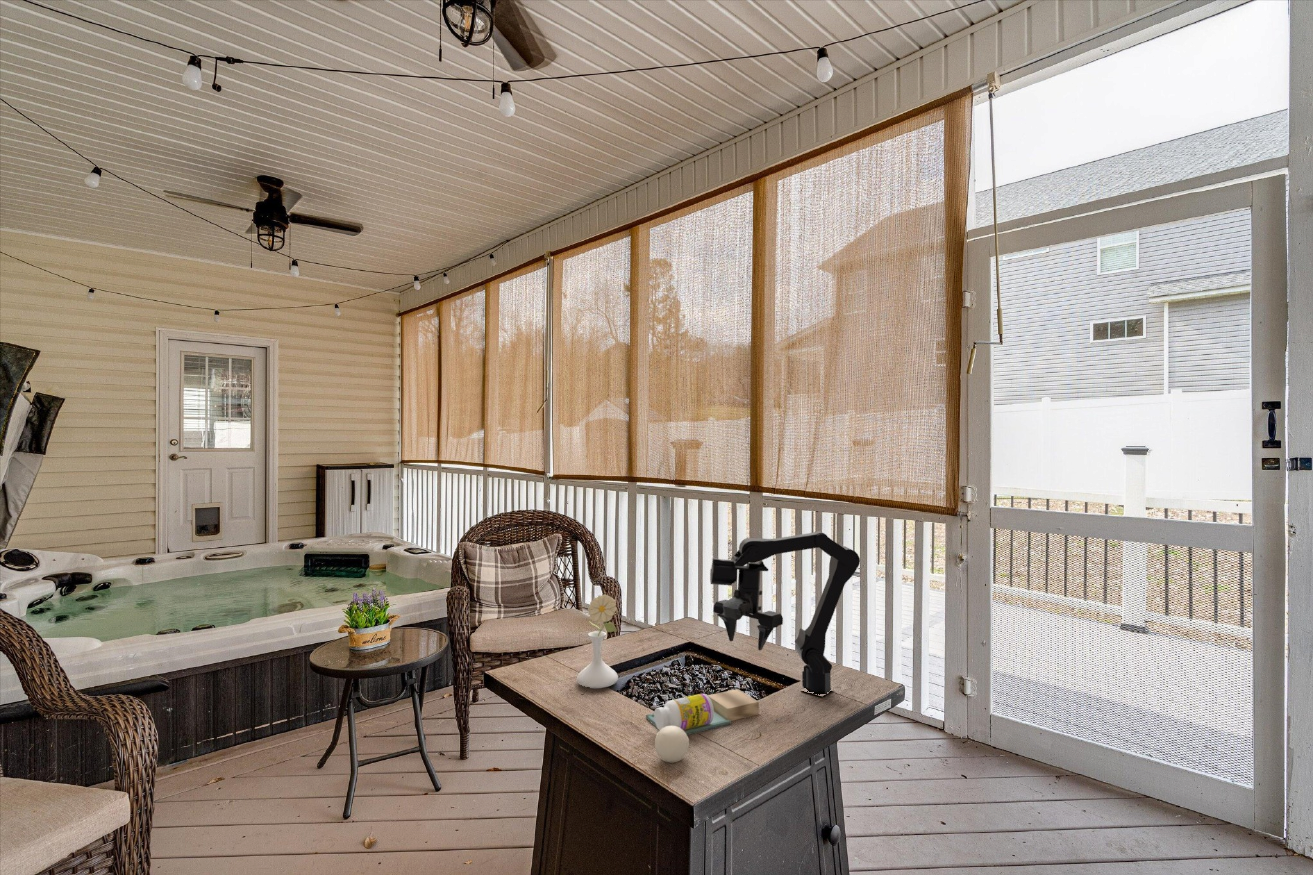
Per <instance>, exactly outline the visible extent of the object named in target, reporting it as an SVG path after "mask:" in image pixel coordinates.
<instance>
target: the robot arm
mask: <svg viewBox="0 0 1313 875" xmlns="http://www.w3.org/2000/svg"><path fill="white" fill-rule="evenodd" d="M817 548H818V549H820V550H821V551H823V552H824V553H826V554H827V555H828V556H830V558H829V562H828V563H829V564H828V578H827V580H826V582H825V585H824V588H823V591H822V592H821V596H820V598H819V600H818V603H817V606H816V609H815V611H814V614H813V616H812V618H811V622H810V624H809V626H808V627H806V629H803V628H800V629H799V630H798V636H797V637H796V639H795V640H794V643H795V650H796V653H797V654H798V656H799V657H800V658H801V659H800V660H801V661H802V662H803V663H804V664H805V665H803V671H801V677H802V679H801V680H802V684H801V686H802V688H806V689H807V690H808V691H809V692H814V693H813V694H817V695H818V694H819V695H820V694H827V692H829V691H830V690H831V688H832V686H831V685H832V684H831V683H832V682H831V679H832V677H831V674H832V672H831V671H832V669H833V668H832V667H833V665H832V663H831V662H830V661H829V659H828V658H827V657H826V656H825V649H826V637H827V636H826V634H827V631H828V628H829V626H830V624H831V621H832V618H833V616H834V613H835V611H836V608H837V605H838V603H839V601H840V597H841V595H842V592H843V589H844V588H845V585H846V584H847V582H848V581H849V580H850V579H852V577H853V576H854V574H855V572H856V571H857V570H858V568H859V566H860V563H861V562H860V561H861V558H860V556H859V554H858V553H857V552H856V551H855V550H853V549H852V548H850V547H847V546H844V545H841V544H839V543H837V542H836V541H834V540H833V539H831V538H830V537H829V536H828V534H826V533H825V532H823V531H819V530H816V531H814V532H810V533H809V532H808V533H801V534H796V535H789V536H783V537H776V538H763V537H761V538H760V537H746V538H744V539H743V540H742V541H741V542H740V543H739V545H738V550H737V551H736V553H734V554H733V556H732V557H731V559H721V558H716V557H715V558H714V557H713V558H712V562H711V566H710V570H709V571H710V572H709V575H710V576H709V577H710V578H709V582H710V585H717V586H718V585H719V586H733V584H735V583H736V582H737V580H738V582H737V588H736V589H734V592H733V596H732V597H731V598H729V599H722V600H717V601H716V602H714V604H713V609H712V610H713V611H712V612H713V613H715V614H716V616H717V617H718V618H720V619H721V620H722V622H723V623H724V626H725V630H726V633H727V637H728V640H729V642H733V641H734V638H735V633H736V626H737V621H738V620H741V619H742V617H747V618H752V619H754V620H757V622H758V625H756V628H757V629H758V643H757V647H758V648H757V649H758V651H762V650H763V648H764V647H765V645H766V642H767V640H768V639H769V636H770V635H771V634H772V632H773V630H774V629H775V628H778V627H779V626H782V625H783V624H784V617H783V615H782V613H780V612H777V611H772V610H768V611H763V612H762V606H761V605H759V604H760V596H762V595H763V590H760V588H761V572H768V571H769V568H768V567H767V566H766V565H765V564H764V561H763V560H767V559H768V558H771V557H773V556H776V555H778V554H780V555H781V554H784V553H785V554H786V553H792V552H798V551H805V550H812V549H817ZM760 611H761V612H760ZM808 691H807V692H808Z"/></svg>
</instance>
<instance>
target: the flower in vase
mask: <svg viewBox="0 0 1313 875" xmlns="http://www.w3.org/2000/svg"><path fill="white" fill-rule="evenodd" d="M589 604H590V605H589V606H588V607H587V611H588V615H589V616H588V617H589V620H588V621H589V623H590V625H592V626H593V627H594V628H597V629H599V631H594V630H593V631H591V632H588V633H587V635H588V637H589V639H590V641H591V644H592V660H591V662H590V663H589V664H588V665H587V666H585V667H584V668H583V669H582V670H581V671H579V673H578V674H577V676H576V682H577V683H578V684H579V685H580V686H581V685H582V686H581V687H584V686H585V687H584V688H587V687H590V688H589V689H602V688H603V689H604V688H607V687H610V686H612V685H615V684H616V683H617V682H618V680H619V676H618V673H617V672H616V670H614V669H613V668H612V667H610V666H609V665H608V664H606V663H605V661H604V660H603V658H602V645H603V643H604V642H603V641H604V638H605V636H606V635H607V633H612V632H617V631H618V629H617V628H616V626H615V625H614V623H613V622H612V621H611V620H612V619H613V616H614V615H615V613H616V611H617V610H618V608H617V604H616V599H614V598H613V597H612V596H610V595H608V594H605V593H604V594H603V595H600V594H599V595H598V596H597V597H593V599H592V600H591V601H590V603H589ZM590 620H591V621H590ZM592 621H593V622H594V623H593V622H592ZM609 621H610V622H609ZM595 623H596V624H595ZM597 624H598V625H600V624H603V625H602V627H601V628H600V627H599V626H598V625H597ZM603 629H605V631H606V632H605V631H602V630H603Z"/></svg>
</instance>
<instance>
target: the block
mask: <svg viewBox="0 0 1313 875" xmlns="http://www.w3.org/2000/svg"><path fill="white" fill-rule="evenodd" d="M706 695H707V696H708V697H709V698H710V699H711V701H712V704H713V708H714V712H716V713H717V714H719V715H720V716H722V717H723V718H724V719H726V720H730V722H733V721H735V720H736V721H737V720H740V719H744V718H749V717H752V716H758V715H760V710H759V709H760V708H759V707H760V701H758V700H756V699H755V698H753V697H752V696H750V695H748V694H746V693H745V692H743V691H742V690H740V689H738V688H737V689H732V690H727V691H723V692H718V693H713V694H706Z"/></svg>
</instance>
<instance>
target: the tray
mask: <svg viewBox="0 0 1313 875" xmlns="http://www.w3.org/2000/svg"><path fill="white" fill-rule="evenodd" d="M646 718H647V719H648V720H647V719H646ZM645 719H646V720H647V721H649V720H650V721H649V722H650V723H651V722H652V723H651V724H652V725H653V726H654V727H656V728H657V726H656V724H655V719H654V712H653V713H649V714H645ZM730 725H731V721H730V720H726V719H724V718H723V717H722V716H720V715H719V714H717V713H716V712H714V718H713V721H712V722H711V723H710V724H707V725H703V726H699V727H694V728H690V729H686V730H683V731H684V732H685V733H686V734H687V736H688V735H692V734H696V733H697V734H698V733H701V732H704V731H708V730H713V729H717V728H721V727H722V728H723V727H725V726H730Z"/></svg>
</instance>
